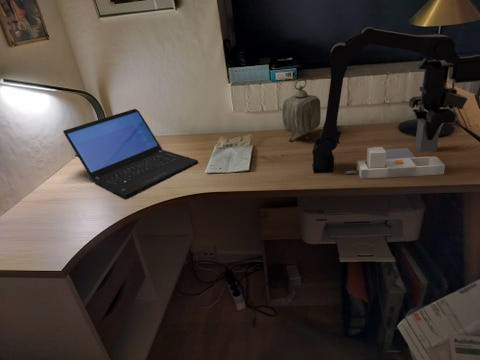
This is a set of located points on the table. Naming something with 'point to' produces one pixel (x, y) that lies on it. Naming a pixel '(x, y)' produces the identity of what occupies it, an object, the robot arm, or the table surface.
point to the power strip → (401, 168)
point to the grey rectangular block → (425, 139)
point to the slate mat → (398, 153)
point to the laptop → (124, 153)
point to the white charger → (376, 157)
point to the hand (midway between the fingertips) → (426, 136)
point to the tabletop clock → (301, 112)
